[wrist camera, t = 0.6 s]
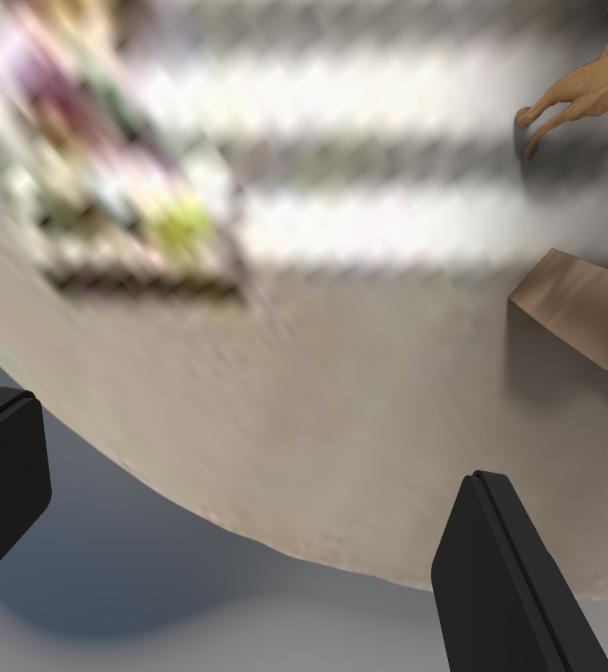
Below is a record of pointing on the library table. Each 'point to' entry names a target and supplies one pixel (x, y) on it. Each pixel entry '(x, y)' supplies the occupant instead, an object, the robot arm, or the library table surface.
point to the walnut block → (569, 302)
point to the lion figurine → (570, 99)
